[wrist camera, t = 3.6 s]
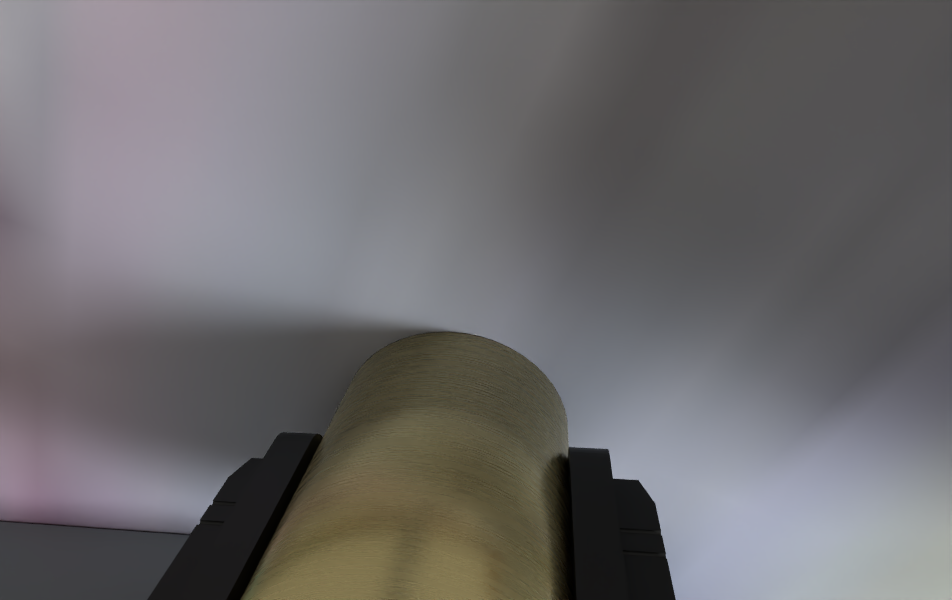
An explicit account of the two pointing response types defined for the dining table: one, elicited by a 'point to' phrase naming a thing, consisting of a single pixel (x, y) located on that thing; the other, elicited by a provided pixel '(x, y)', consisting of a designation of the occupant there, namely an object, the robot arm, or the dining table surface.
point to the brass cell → (432, 484)
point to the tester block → (82, 562)
